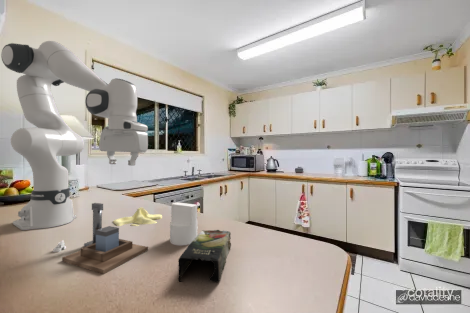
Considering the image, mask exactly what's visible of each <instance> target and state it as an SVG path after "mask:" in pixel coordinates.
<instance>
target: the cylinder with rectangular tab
mask: <svg viewBox="0 0 470 313" xmlns="http://www.w3.org/2000/svg"><path fill="white" fill-rule="evenodd" d="M170 207H171V208H170V209H171V210H170V214H171V216H170V217H171V219H170V220H171V221H170V223H169V226H170V227H169V242H170V244H172V245H174V246H189V245H190V244H191V242H192V241H193V240H194V239H195V238H196V237H197V235H198V226H199V224H198V204H194V203H186V202H179V201H177V202H172V203H171V206H170Z"/></svg>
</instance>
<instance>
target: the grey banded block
mask: <svg viewBox="0 0 470 313" xmlns="http://www.w3.org/2000/svg"><path fill="white" fill-rule="evenodd" d="M119 234H120V227H118V226H117V227H116V226H113V225H108V226H105V227H102V228H101V229H98V230H96V250H98V251H102V252H106V251H108V250H111V249H113V248H115V247H118V246H119V239H120V235H119Z"/></svg>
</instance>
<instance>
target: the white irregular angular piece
mask: <svg viewBox="0 0 470 313" xmlns="http://www.w3.org/2000/svg"><path fill="white" fill-rule="evenodd" d="M65 249H67V246H66V245H65V241H64V239H63V240H61V241H59V242H58V243H57V245H56V246H54V248H53V250H52V253H56V252H57V253H61V251H62V250H65Z"/></svg>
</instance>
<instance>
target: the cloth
mask: <svg viewBox="0 0 470 313" xmlns="http://www.w3.org/2000/svg"><path fill="white" fill-rule="evenodd" d="M162 219H163V215H162V214H158V213H156V214H150V213H149V212H148V211H147V210H146V209H145V208H144V207H142V206H141V207H139V208H136V211H135V213H133V215H131V216H123V217H119V218H116V219H114V220H113V221H112V224H113V223H114V225H115V227H116V226H117V227H122V226H124V225H130V226H131V227H140V226H141V225H153V224H157V223H158V222H157V221H156V220H162Z"/></svg>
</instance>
